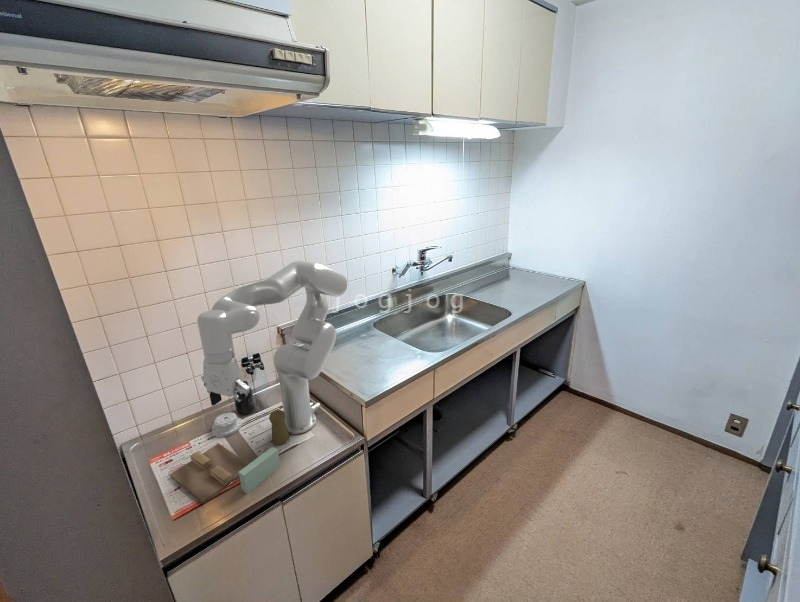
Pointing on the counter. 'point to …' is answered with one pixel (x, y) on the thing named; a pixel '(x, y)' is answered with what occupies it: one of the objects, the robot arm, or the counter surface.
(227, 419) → the mechanical component
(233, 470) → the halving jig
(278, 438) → the cork
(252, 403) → the supplement bottle
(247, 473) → the sage plate
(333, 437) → the counter surface
